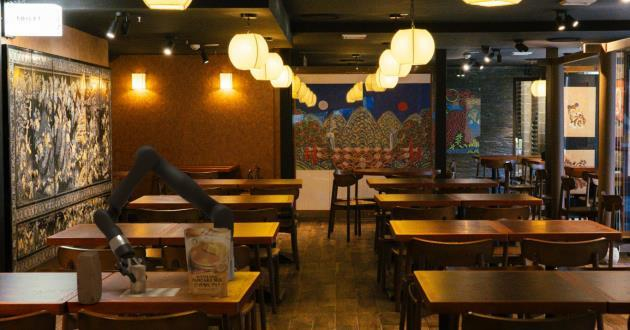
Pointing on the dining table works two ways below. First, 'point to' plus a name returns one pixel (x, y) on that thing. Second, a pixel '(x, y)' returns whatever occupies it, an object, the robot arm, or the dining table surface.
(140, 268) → the tan tall block
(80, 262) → the block
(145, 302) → the dining table surface
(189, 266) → the pancake mix bag
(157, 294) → the birch board
